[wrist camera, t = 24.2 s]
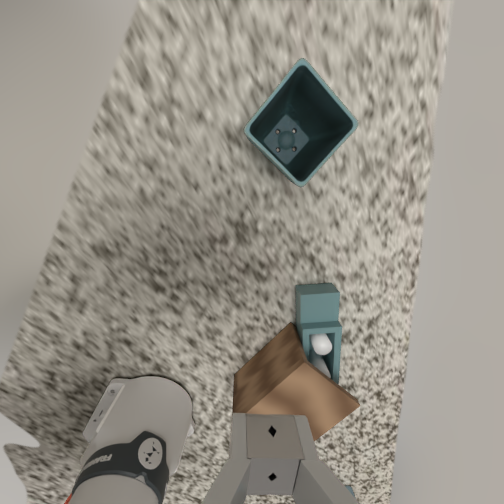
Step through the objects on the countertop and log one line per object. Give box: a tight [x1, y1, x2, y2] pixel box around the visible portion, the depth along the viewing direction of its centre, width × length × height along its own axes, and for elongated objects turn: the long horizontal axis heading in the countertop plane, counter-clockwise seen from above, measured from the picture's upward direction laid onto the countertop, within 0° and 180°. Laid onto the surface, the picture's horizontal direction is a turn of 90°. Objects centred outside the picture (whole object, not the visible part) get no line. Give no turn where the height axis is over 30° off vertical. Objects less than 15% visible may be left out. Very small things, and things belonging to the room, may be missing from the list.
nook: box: [232, 322, 360, 441], centre depth 39 cm, size 15×12×10 cm
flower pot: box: [244, 58, 358, 187], centre depth 28 cm, size 9×9×9 cm
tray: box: [296, 283, 342, 384], centre depth 39 cm, size 17×6×6 cm, turn 3°
